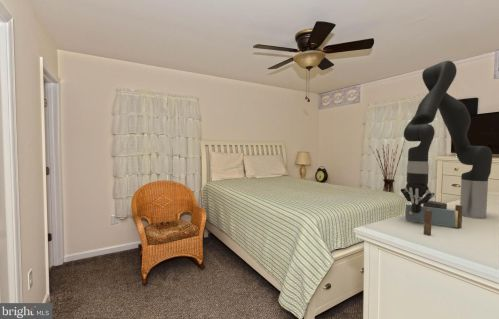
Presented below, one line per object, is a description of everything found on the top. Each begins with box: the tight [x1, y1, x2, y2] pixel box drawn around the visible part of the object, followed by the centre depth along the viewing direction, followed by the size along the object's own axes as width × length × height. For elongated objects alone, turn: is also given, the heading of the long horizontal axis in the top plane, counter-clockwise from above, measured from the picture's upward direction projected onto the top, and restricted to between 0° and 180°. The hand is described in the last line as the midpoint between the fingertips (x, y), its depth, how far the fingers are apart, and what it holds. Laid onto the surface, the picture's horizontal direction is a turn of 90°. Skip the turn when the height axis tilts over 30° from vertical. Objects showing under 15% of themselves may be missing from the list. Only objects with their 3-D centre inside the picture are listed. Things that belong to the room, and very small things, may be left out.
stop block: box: [422, 199, 448, 209], centre depth 107 cm, size 4×7×8 cm, turn 23°
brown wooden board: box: [423, 204, 463, 236], centre depth 93 cm, size 21×2×9 cm, turn 113°
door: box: [405, 204, 458, 228], centre depth 101 cm, size 18×3×6 cm, turn 53°
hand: (415, 212), depth 102 cm, fingers closed
